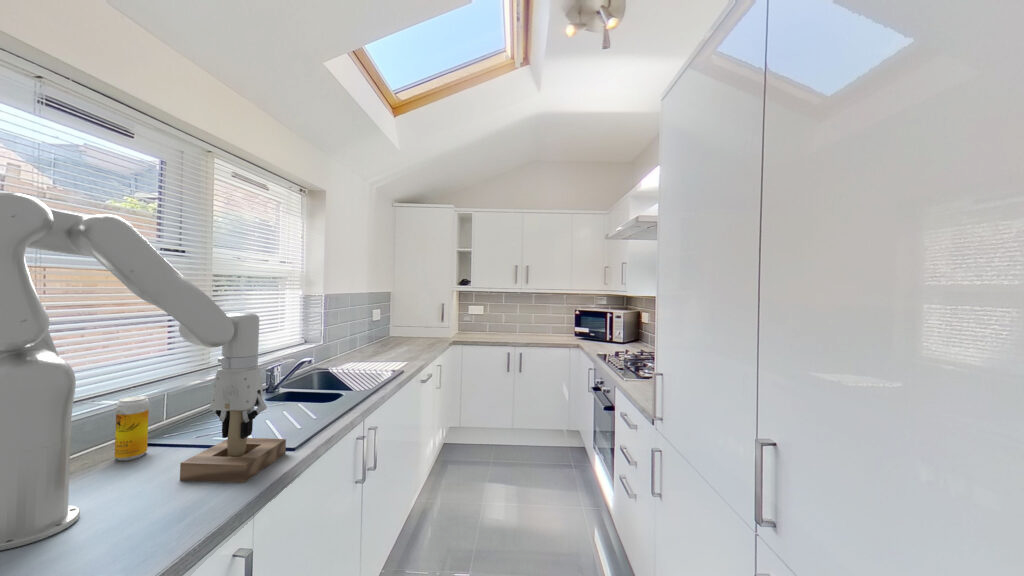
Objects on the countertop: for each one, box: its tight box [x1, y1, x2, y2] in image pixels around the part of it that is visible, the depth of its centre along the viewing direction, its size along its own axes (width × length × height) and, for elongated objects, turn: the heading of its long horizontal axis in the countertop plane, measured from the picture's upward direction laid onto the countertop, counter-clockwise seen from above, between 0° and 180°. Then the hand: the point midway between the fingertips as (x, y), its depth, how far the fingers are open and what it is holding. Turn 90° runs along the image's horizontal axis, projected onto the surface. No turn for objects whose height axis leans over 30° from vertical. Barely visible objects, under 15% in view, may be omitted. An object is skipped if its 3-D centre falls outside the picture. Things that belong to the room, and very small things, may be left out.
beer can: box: [114, 395, 150, 461], centre depth 102 cm, size 6×6×15 cm
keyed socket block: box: [179, 437, 287, 483], centre depth 98 cm, size 16×15×4 cm
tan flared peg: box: [225, 404, 248, 457], centre depth 98 cm, size 5×6×15 cm
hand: (237, 435), depth 98 cm, fingers closed on tan flared peg, 3 cm apart
